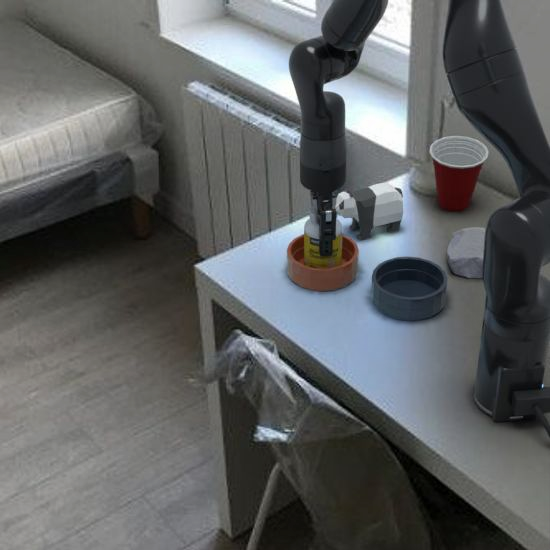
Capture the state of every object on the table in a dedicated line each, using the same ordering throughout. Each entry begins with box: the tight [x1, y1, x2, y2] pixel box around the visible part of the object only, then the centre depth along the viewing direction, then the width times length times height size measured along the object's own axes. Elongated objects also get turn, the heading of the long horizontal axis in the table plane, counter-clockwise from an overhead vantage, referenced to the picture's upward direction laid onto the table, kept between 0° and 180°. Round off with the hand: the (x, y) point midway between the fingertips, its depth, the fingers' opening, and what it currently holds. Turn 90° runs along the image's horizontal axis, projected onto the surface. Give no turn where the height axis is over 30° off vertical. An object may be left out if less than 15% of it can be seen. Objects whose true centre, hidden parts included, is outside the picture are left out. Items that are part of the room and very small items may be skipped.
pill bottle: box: [303, 206, 343, 268], centre depth 165 cm, size 6×6×12 cm
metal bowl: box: [370, 256, 449, 321], centre depth 160 cm, size 12×12×4 cm
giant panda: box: [335, 182, 404, 241], centre depth 176 cm, size 15×6×10 cm, turn 111°
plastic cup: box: [429, 135, 489, 213], centre depth 182 cm, size 11×11×12 cm
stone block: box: [446, 226, 486, 279], centre depth 169 cm, size 12×5×10 cm
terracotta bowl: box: [286, 233, 360, 292], centre depth 167 cm, size 12×12×4 cm
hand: (323, 243), depth 165 cm, fingers closed on pill bottle, 6 cm apart
